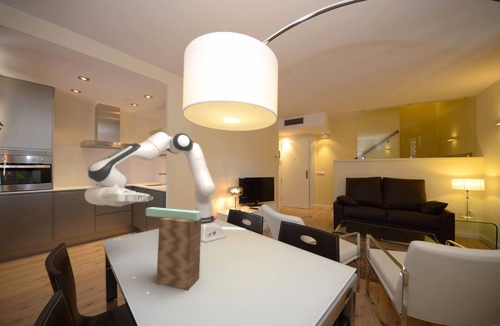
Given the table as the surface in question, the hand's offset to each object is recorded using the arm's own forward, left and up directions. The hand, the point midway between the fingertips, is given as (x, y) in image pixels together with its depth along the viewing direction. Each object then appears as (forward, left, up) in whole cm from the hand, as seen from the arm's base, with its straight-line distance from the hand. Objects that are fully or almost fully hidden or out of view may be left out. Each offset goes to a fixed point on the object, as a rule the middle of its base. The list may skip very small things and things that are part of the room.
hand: (145, 198), depth 88 cm
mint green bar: (-10, +18, -6) cm, 21 cm away
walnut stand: (-13, +21, -31) cm, 39 cm away
